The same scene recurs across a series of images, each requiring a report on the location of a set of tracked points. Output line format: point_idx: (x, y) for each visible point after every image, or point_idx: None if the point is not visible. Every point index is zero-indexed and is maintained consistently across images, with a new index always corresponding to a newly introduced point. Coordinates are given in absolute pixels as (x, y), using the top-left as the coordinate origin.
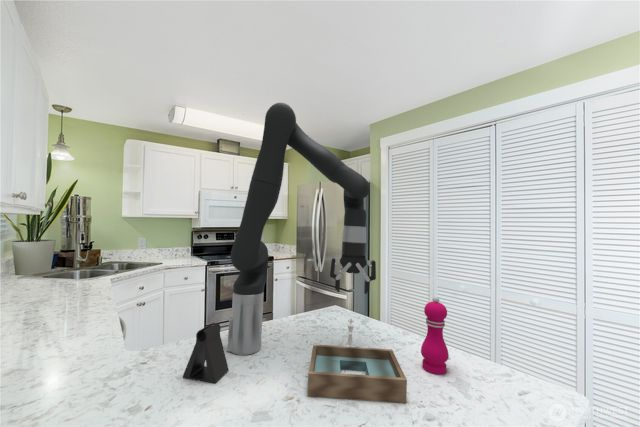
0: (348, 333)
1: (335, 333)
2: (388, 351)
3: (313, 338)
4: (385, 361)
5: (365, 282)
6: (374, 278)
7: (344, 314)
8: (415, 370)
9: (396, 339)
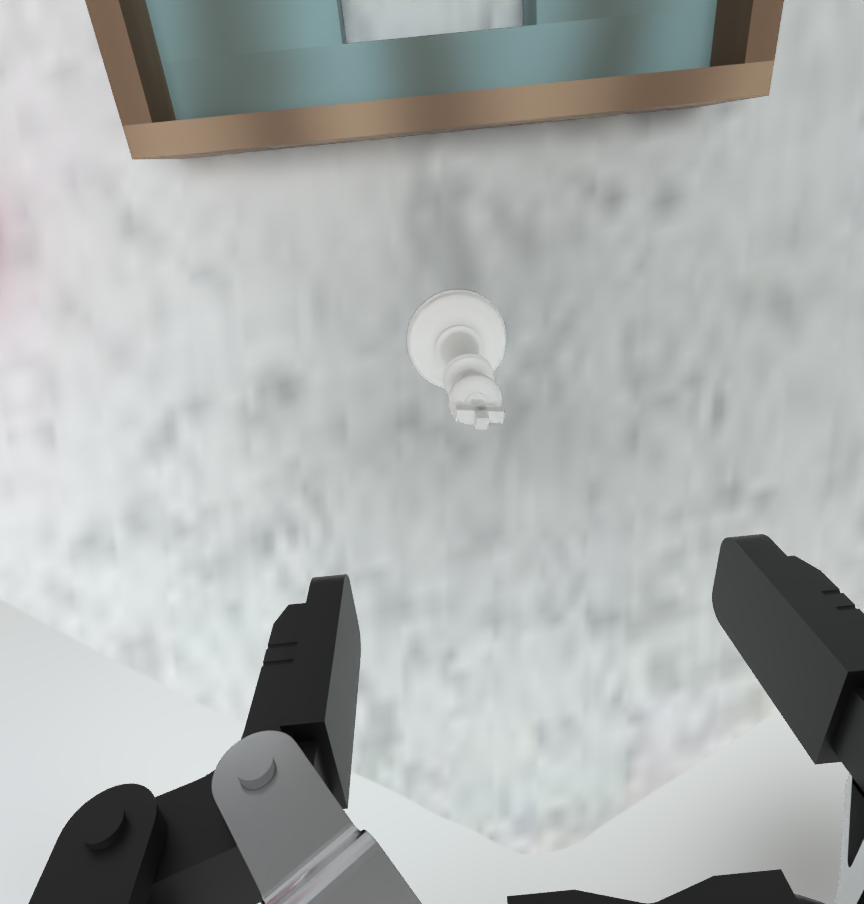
0: (484, 360)
1: (542, 557)
2: (159, 122)
3: (676, 461)
4: (199, 89)
5: (320, 714)
6: (93, 820)
7: (490, 792)
8: (24, 158)
9: (184, 565)
